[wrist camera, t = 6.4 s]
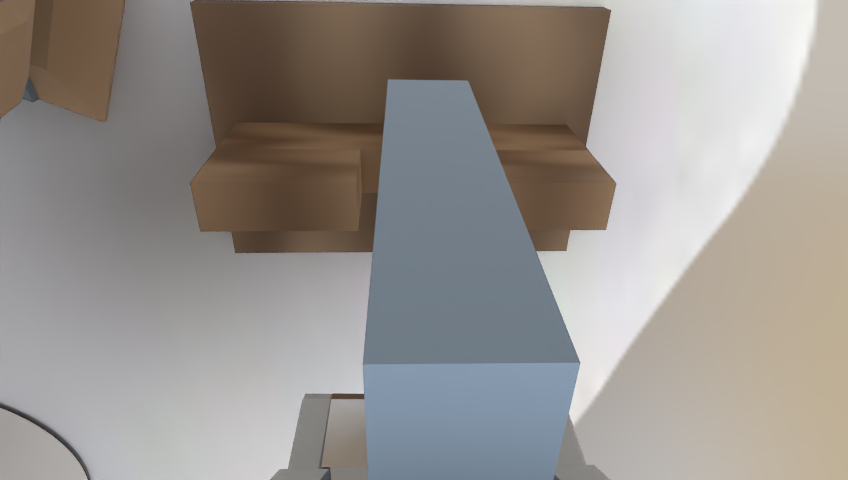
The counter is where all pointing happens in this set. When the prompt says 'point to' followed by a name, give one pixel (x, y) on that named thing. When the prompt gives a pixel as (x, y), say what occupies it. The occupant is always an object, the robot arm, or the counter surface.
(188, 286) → the counter surface
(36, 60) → the alarm clock
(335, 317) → the counter surface
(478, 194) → the blue slotted plate
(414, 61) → the walnut joint base
